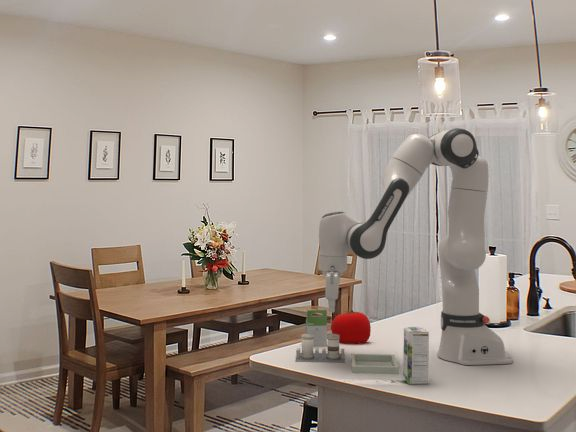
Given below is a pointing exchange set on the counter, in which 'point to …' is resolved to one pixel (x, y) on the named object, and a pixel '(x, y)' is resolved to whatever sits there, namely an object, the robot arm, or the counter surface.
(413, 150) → the robot arm
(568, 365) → the counter surface
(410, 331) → the syrup box
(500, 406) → the counter surface
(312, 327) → the ink box
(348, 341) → the tomato
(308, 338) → the holder
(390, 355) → the tray
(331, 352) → the fuse
